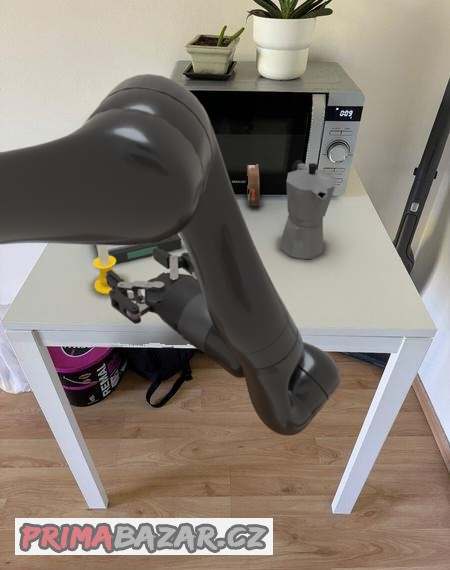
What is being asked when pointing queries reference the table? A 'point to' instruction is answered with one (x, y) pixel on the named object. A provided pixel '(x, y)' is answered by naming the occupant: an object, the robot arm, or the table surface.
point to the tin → (253, 185)
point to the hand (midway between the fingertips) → (132, 263)
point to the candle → (103, 269)
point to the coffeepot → (306, 210)
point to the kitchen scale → (141, 249)
